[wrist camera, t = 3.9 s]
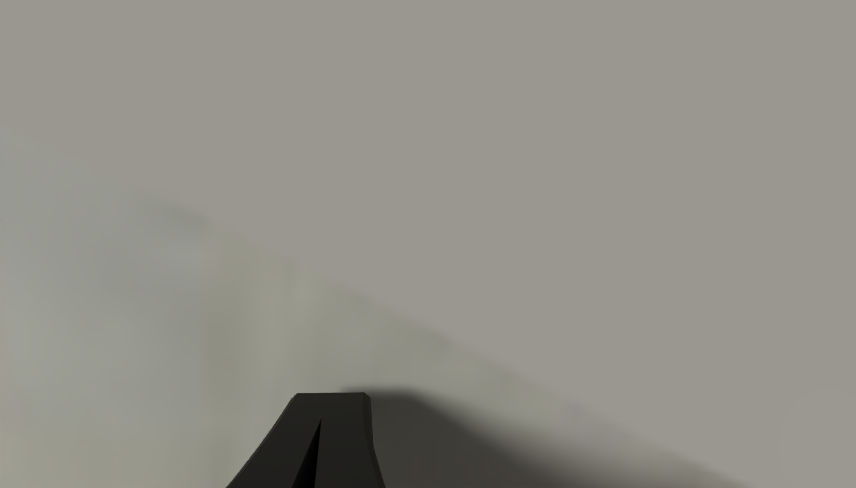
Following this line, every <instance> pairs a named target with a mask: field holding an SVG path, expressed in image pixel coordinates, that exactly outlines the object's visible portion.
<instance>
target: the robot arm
mask: <svg viewBox="0 0 856 488" xmlns="http://www.w3.org/2000/svg"><path fill="white" fill-rule="evenodd" d="M226 488H385V485H384V482H383V479H382V476H381V472H380V469H379V465H378V461H377V458H376V454H375V450H374V446H373V434H372V418H371V403H370V397H369V396H368V395H366V394H365V393H364V392H360V393H297V394H296V395H295V396H294V397H293V398H292V399H291V400H290V402H289V403H288V405H287V406H286V408H285V409H284V411H283V412H282V414H281V415H280V417H279V418H278V420H277V421H276V423H275V424H274V426H273V427H272V429H271V430H270V431H269V433H268V434H267V436H266V437H265V438H264V440H263V441H262V443H261V444H260V445H259V447H258V448H257V449H256V451H255V452H254V453H253V454H252V456H251V457H250V458H249V460H248V461H247V462H246V464H245V465H244V466H243V467H242V469H241V470H240V471H239V473H238V474H237V475H236V476H235V478H234V479H233V480H232V481H231V482H230V483H229V485H228V486H227V487H226Z"/></svg>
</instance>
